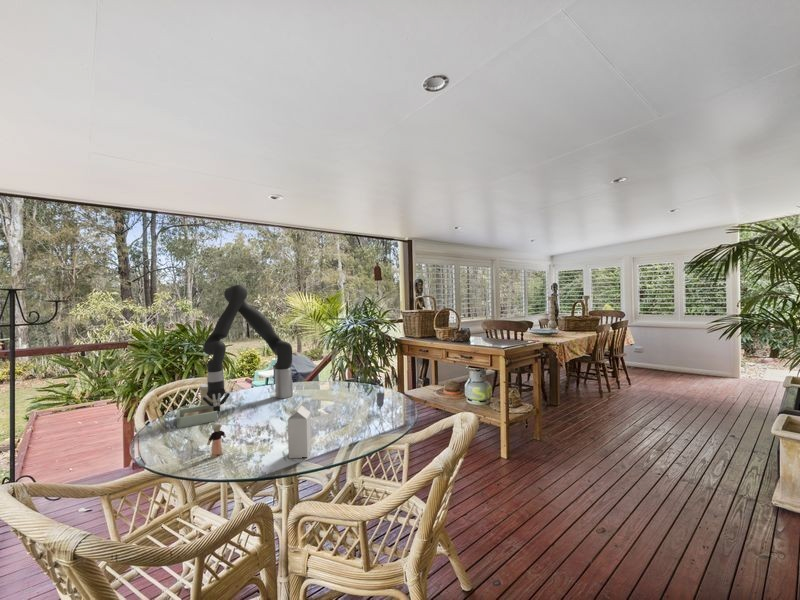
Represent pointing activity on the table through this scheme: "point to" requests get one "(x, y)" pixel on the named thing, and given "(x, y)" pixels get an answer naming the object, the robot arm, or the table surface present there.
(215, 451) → the grandmother figurine
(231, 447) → the table surface
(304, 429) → the milk carton
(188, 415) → the oak tile
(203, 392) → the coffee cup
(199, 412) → the walnut tile
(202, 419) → the grey-green tray
